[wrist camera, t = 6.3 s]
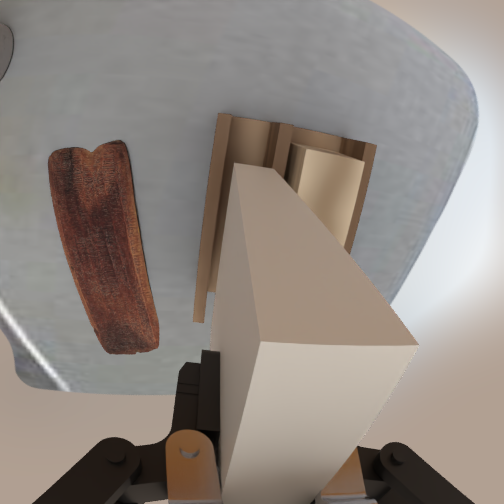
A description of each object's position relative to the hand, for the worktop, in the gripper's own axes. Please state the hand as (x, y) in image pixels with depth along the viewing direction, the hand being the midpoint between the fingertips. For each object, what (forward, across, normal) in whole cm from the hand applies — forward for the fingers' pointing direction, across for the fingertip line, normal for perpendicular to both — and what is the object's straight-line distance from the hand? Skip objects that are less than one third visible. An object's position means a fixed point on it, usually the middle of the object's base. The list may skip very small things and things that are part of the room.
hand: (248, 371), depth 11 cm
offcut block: (+21, -6, -4) cm, 22 cm away
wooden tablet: (+23, +14, +8) cm, 28 cm away
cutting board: (+10, 0, 0) cm, 10 cm away
